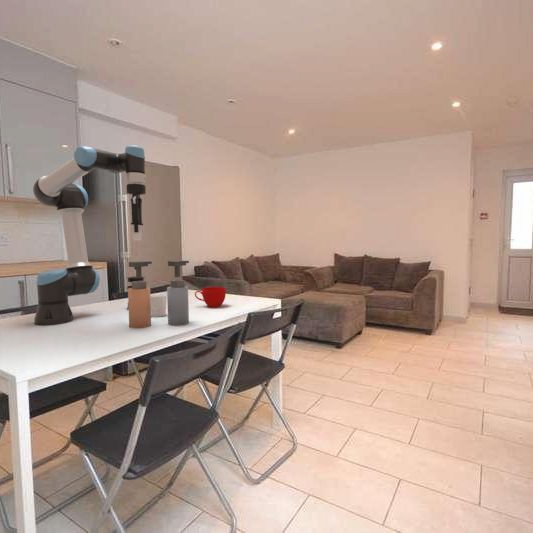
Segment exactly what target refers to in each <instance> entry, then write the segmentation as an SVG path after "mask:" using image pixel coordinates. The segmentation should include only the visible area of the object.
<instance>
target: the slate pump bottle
mask: <svg viewBox="0 0 533 533" xmlns="http://www.w3.org/2000/svg"><path fill="white" fill-rule="evenodd" d="M185 283H186V282H185V279H172V280H170V286H167V287H166V293H167V294H166V305H167V324H168V325H170V326H185V325H188V324H189V323H190V321H189V320H190V318H189V314H190V313H189V312H190V311H189V309H190V308H189V286H187V285H186V284H185Z"/></svg>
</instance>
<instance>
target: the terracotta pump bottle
mask: <svg viewBox="0 0 533 533" xmlns="http://www.w3.org/2000/svg"><path fill="white" fill-rule="evenodd" d="M131 286H132V288H129V289H127V298H128V299H127V307H128V306H129V310H128V326H129V328H131V329H143V328H147V327H150V326H152V316H151V298H150V295H151V287H149V286H147V281H145V280H144V281H135V282H131Z"/></svg>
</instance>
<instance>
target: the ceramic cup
mask: <svg viewBox="0 0 533 533" xmlns="http://www.w3.org/2000/svg"><path fill="white" fill-rule="evenodd" d="M226 292H227V288H226V287H222V286H221V287H220V286H208V287H202V290H196V291H195V293H194V296H195V298H196V299H197V300H199V301H202V302H204V303H205V305H206V306H207V307H208V308H220V307H221V306H222V304H223V303H224V301H225V299H226V294H227V293H226ZM197 293H200V294H201V295H202V298H199V297H198V296H197Z"/></svg>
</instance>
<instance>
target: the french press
mask: <svg viewBox="0 0 533 533" xmlns="http://www.w3.org/2000/svg"><path fill="white" fill-rule="evenodd" d="M133 268H134V271H135V275H132V276H128V277H127V276H126V279H127V282H128V283H132V282H135V281H145V278H146V277H145V276H142V278H136V267H133ZM129 288H132V285H128V286H126V289H127V290H128V289H129ZM127 310H128V311H129V306H128V305H127Z"/></svg>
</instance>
